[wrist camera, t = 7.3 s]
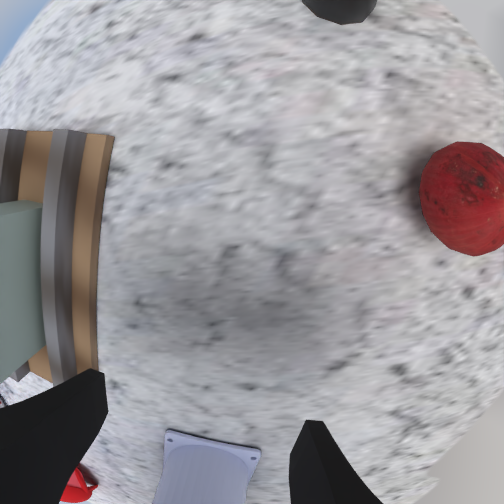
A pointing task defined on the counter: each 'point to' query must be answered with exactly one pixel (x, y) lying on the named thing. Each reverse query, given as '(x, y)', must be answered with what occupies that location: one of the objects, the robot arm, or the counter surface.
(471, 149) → the onion
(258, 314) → the counter surface
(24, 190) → the track board
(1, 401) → the soda can
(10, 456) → the robot arm
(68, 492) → the red toy stool
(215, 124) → the counter surface
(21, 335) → the door panel
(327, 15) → the wooden tabletop sculpture
